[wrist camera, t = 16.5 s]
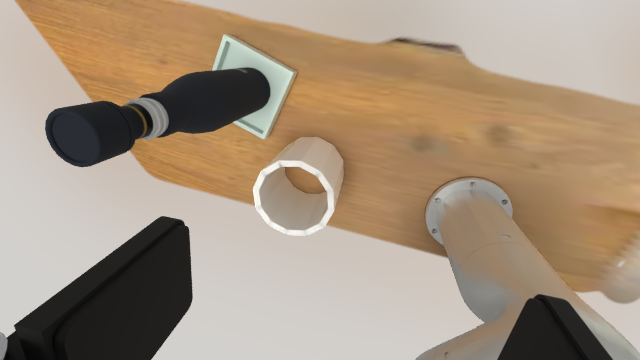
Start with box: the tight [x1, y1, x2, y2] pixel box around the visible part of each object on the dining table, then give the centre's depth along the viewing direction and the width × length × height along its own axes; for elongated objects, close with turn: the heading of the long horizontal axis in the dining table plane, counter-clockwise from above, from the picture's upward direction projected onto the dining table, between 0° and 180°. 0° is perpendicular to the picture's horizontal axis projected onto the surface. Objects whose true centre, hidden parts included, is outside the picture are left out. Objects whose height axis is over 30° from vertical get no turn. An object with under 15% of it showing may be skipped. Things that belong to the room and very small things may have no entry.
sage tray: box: [212, 34, 298, 139], centre depth 47 cm, size 11×11×2 cm
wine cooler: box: [253, 137, 344, 236], centre depth 46 cm, size 11×11×12 cm
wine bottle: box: [45, 67, 271, 167], centre depth 33 cm, size 6×6×30 cm
